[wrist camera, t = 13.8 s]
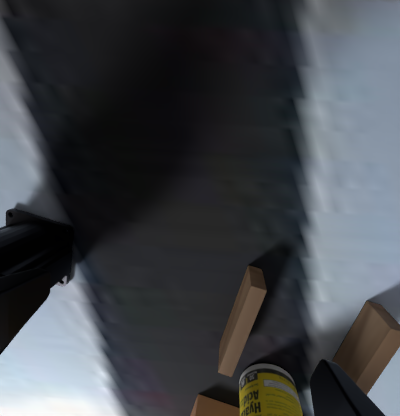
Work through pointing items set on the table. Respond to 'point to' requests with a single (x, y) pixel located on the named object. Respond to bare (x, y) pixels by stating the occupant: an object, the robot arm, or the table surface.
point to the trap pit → (213, 408)
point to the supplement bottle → (268, 392)
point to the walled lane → (349, 350)
